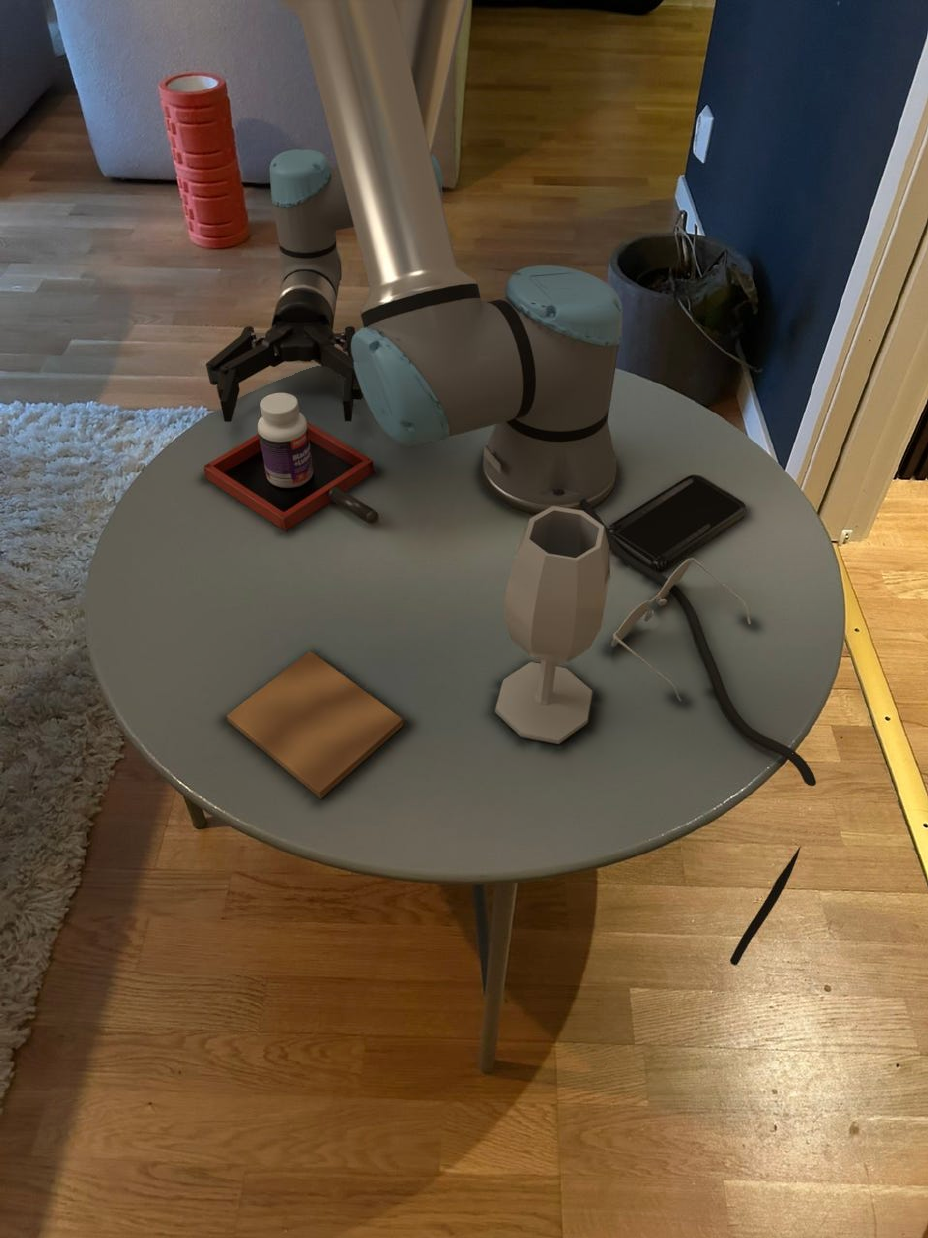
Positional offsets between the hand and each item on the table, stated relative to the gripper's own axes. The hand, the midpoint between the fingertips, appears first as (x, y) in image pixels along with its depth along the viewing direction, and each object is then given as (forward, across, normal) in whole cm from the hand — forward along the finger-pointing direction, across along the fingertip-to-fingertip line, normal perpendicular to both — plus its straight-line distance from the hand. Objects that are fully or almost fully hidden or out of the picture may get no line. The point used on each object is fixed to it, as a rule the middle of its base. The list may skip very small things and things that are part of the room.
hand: (286, 411), depth 102 cm
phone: (+13, -43, -6) cm, 45 cm away
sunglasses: (+29, -40, -6) cm, 50 cm away
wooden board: (+39, -6, -6) cm, 40 cm away
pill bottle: (+4, 0, -6) cm, 7 cm away
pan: (+6, -3, -6) cm, 9 cm away
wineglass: (+37, -26, -6) cm, 46 cm away
